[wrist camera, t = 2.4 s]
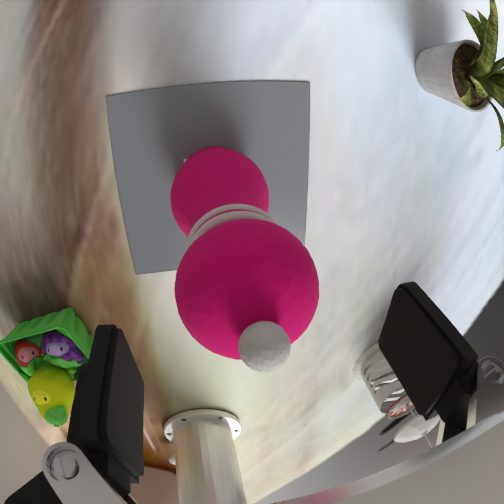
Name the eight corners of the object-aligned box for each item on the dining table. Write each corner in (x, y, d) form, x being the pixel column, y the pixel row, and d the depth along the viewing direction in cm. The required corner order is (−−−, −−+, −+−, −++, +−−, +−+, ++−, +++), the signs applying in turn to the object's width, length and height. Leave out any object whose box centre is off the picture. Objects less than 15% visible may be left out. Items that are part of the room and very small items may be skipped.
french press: (344, 363, 44) (416, 507, 22) (408, 320, 42) (501, 450, 21) (362, 386, 49) (422, 506, 27) (417, 349, 47) (492, 460, 26)
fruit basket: (74, 293, 30) (46, 375, 20) (113, 349, 34) (102, 429, 25) (8, 316, 29) (-25, 386, 19) (46, 364, 34) (27, 433, 24)
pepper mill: (200, 233, 29) (231, 438, 12) (156, 169, 25) (106, 348, 8) (269, 193, 28) (387, 364, 11) (230, 124, 25) (336, 220, 8)
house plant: (484, 45, 23) (594, 64, 9) (468, 144, 30) (576, 196, 16) (397, -11, 20) (530, -32, 6) (379, 109, 26) (519, 153, 12)
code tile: (309, 82, 24) (310, 82, 24) (303, 254, 32) (304, 255, 32) (106, 96, 21) (106, 96, 21) (136, 274, 30) (136, 274, 30)
